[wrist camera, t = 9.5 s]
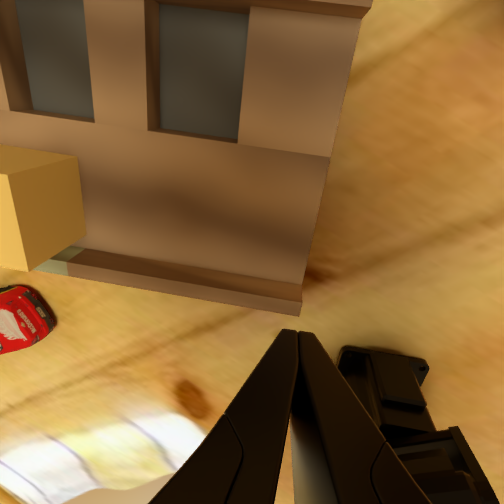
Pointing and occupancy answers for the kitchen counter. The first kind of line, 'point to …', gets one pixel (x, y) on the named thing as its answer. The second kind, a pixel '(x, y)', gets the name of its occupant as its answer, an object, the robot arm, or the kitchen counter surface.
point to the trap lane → (184, 134)
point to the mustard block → (38, 206)
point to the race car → (21, 319)
